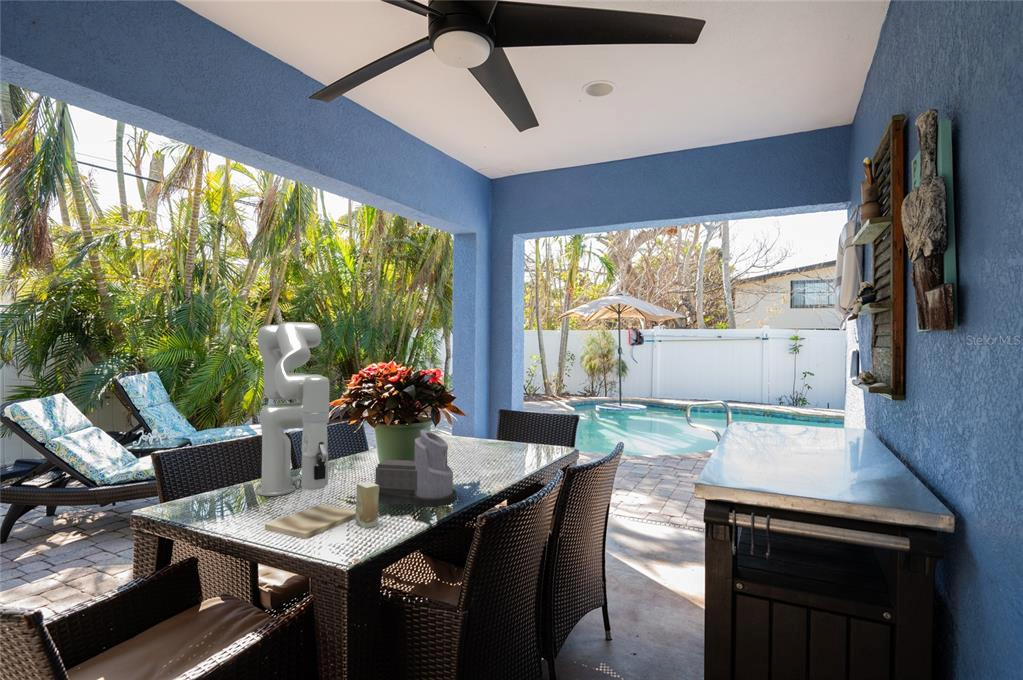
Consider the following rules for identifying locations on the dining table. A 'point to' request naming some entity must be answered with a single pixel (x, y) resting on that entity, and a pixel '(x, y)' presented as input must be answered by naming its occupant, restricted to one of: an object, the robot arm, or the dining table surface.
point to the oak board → (311, 521)
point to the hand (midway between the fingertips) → (314, 475)
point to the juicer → (418, 476)
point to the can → (312, 473)
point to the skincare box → (367, 504)
